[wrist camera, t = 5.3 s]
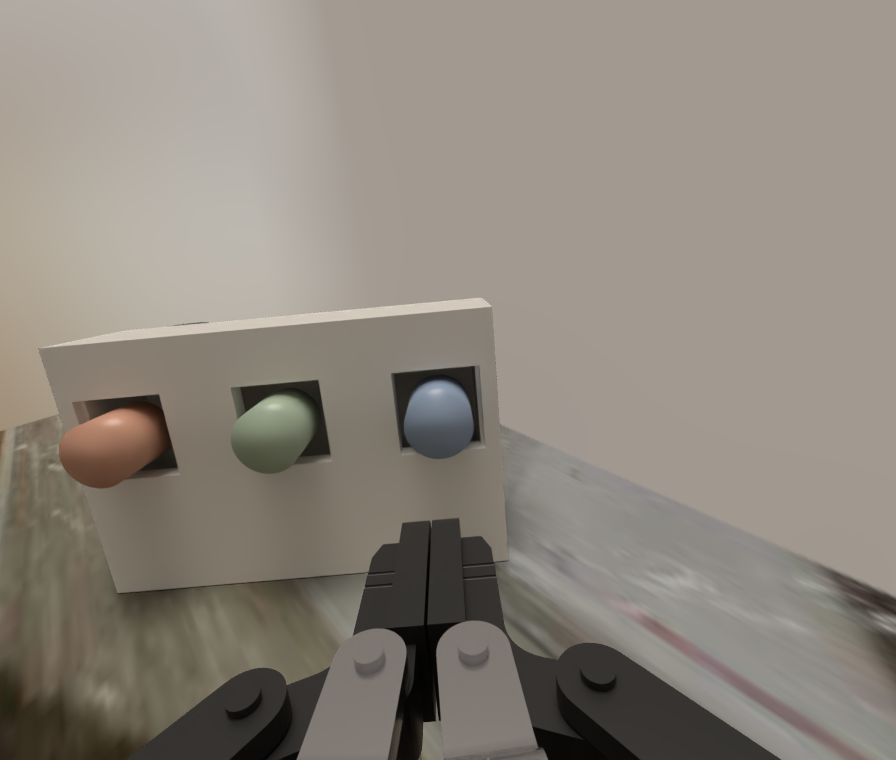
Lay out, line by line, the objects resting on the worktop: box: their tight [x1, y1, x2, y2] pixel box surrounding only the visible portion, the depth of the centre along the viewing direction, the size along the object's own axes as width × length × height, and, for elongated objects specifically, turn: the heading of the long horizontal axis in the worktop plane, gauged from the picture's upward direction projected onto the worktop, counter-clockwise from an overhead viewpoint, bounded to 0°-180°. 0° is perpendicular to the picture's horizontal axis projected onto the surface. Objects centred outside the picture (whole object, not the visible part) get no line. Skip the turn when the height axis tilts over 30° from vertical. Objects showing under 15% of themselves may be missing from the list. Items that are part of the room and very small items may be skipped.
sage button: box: [231, 388, 321, 474], centre depth 22 cm, size 3×4×3 cm
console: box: [39, 298, 508, 593], centre depth 26 cm, size 22×6×14 cm, turn 90°
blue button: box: [404, 374, 474, 459], centre depth 22 cm, size 3×4×3 cm
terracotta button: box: [59, 401, 172, 489], centre depth 23 cm, size 3×4×3 cm
